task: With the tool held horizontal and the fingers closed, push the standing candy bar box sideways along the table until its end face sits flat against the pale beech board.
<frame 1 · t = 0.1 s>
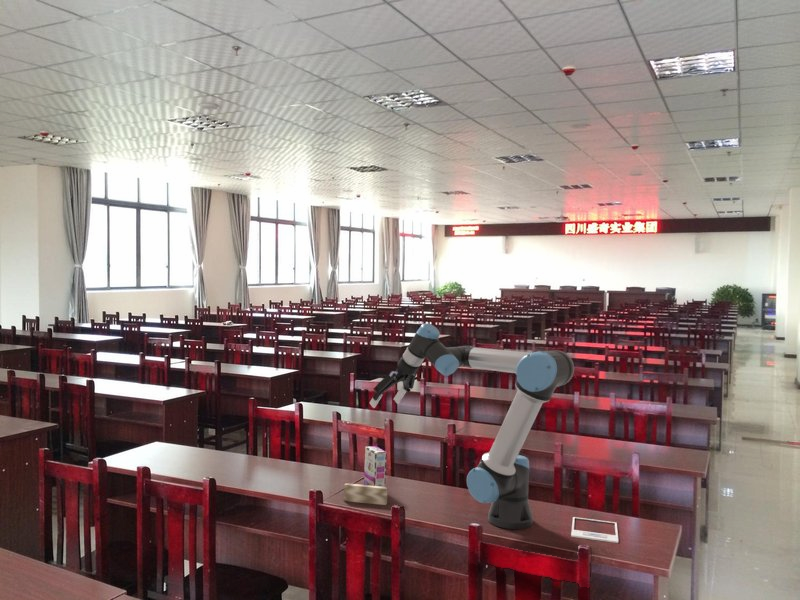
hand: (384, 403, 239), 36 cm above the table, tool tilted 35°, fingers open, 13 cm apart
photo frame: (594, 531, 213), on the table
board: (365, 502, 234), on the table
candy bar box: (374, 491, 248), on the table
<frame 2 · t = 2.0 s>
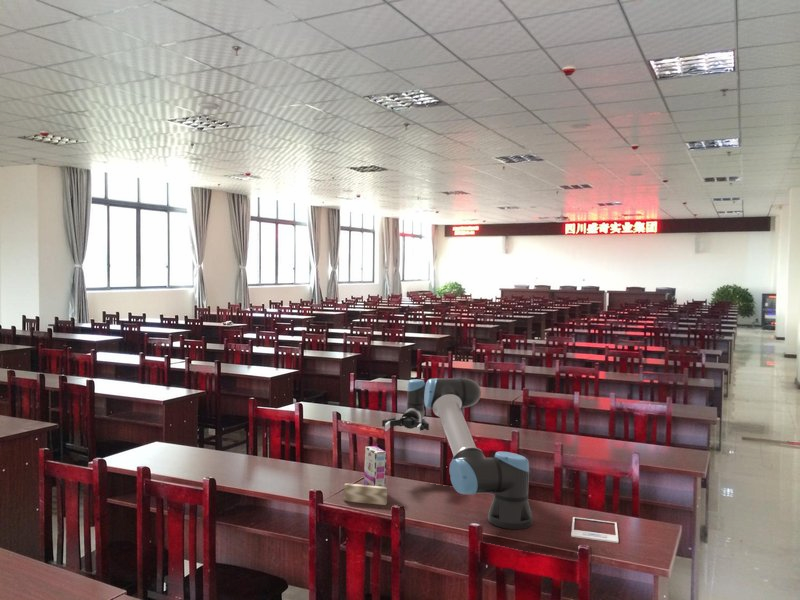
hand: (401, 429, 257), 22 cm above the table, tool horizontal, fingers open, 12 cm apart
nothing on the table moved.
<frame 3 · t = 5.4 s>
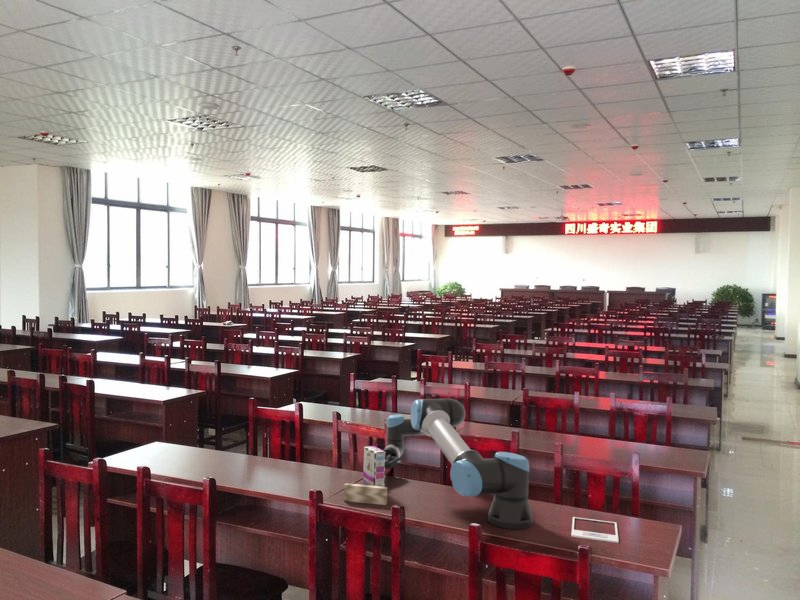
hand: (376, 470, 252), 7 cm above the table, tool horizontal, fingers closed
candy bar box: (373, 491, 247), on the table
everything else where it was.
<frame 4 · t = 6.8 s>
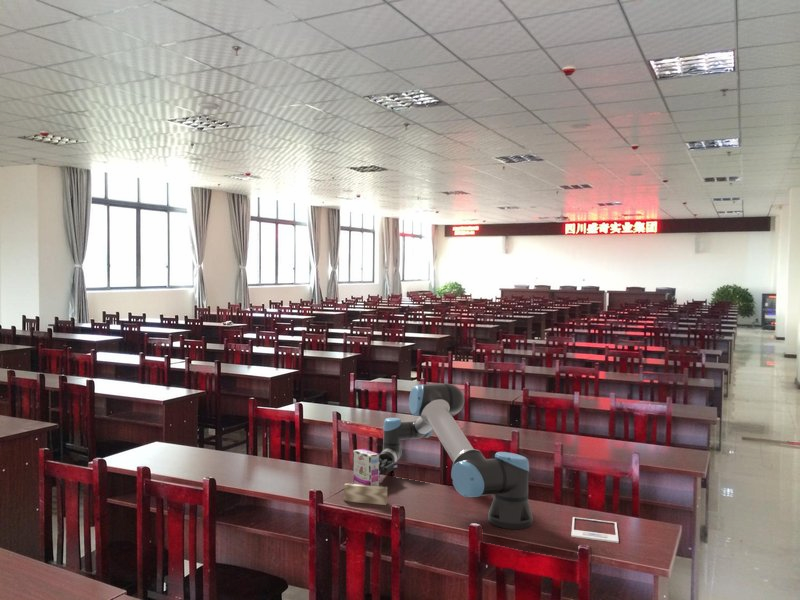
hand: (372, 475, 245), 7 cm above the table, tool horizontal, fingers closed
candy bar box: (366, 494, 243), on the table, touching gripper
everything else where it was.
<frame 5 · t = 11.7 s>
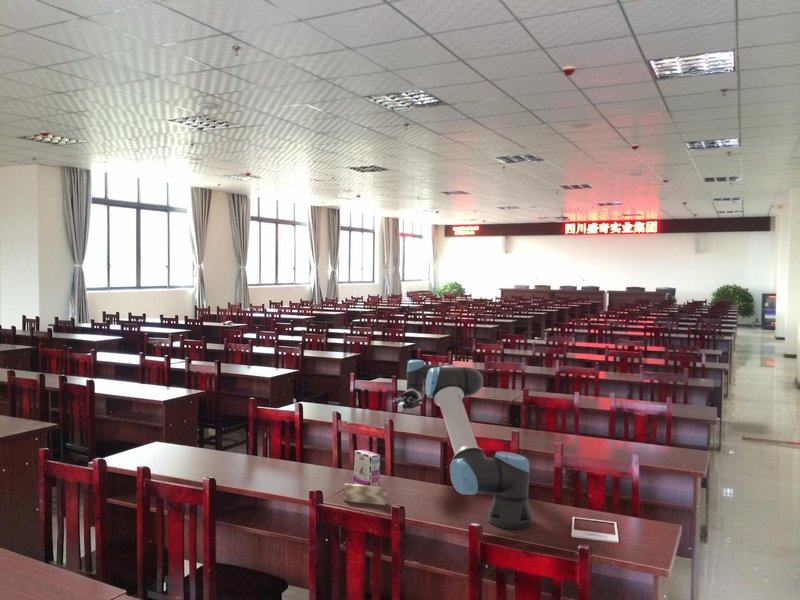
hand: (399, 408, 251), 32 cm above the table, tool horizontal, fingers closed
candy bar box: (366, 495, 242), on the table
everything else where it was.
at the end: candy bar box 1.9 cm from the target spot on the table beside the board, on the table; candy bar box tilted 0°; the gripper is holding nothing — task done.
